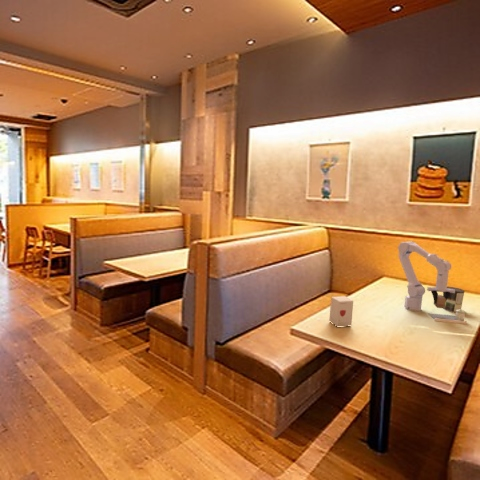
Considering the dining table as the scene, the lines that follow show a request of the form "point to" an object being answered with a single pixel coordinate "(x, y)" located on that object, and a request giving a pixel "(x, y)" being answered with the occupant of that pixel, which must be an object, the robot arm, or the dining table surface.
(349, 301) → the supplement box
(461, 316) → the celadon jar
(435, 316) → the shelf board
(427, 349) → the dining table surface
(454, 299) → the coffee can
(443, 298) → the tea box
